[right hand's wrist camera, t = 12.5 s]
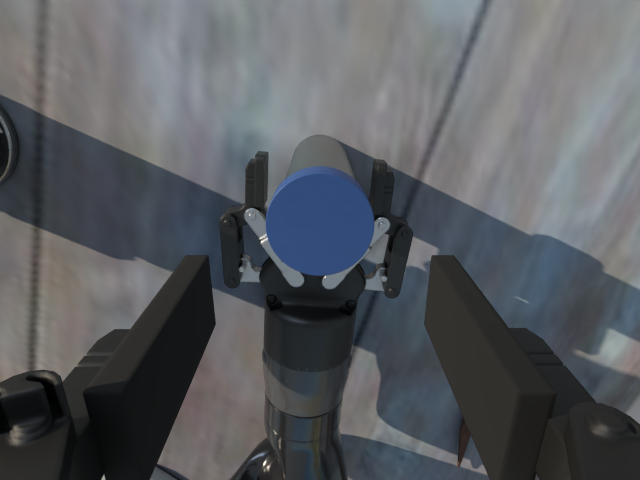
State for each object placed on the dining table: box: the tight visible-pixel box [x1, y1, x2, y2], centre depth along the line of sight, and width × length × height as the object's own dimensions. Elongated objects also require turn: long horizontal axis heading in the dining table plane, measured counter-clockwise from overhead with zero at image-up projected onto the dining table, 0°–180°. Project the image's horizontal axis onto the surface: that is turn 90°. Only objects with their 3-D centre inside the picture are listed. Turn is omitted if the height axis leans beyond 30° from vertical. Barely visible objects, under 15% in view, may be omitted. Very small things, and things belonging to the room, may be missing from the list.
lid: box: [266, 166, 374, 276], centre depth 21 cm, size 5×5×2 cm
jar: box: [285, 135, 355, 179], centre depth 28 cm, size 5×5×16 cm
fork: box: [457, 418, 470, 467], centre depth 45 cm, size 3×16×2 cm, turn 178°
